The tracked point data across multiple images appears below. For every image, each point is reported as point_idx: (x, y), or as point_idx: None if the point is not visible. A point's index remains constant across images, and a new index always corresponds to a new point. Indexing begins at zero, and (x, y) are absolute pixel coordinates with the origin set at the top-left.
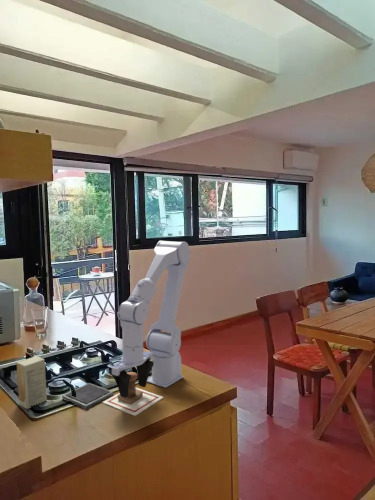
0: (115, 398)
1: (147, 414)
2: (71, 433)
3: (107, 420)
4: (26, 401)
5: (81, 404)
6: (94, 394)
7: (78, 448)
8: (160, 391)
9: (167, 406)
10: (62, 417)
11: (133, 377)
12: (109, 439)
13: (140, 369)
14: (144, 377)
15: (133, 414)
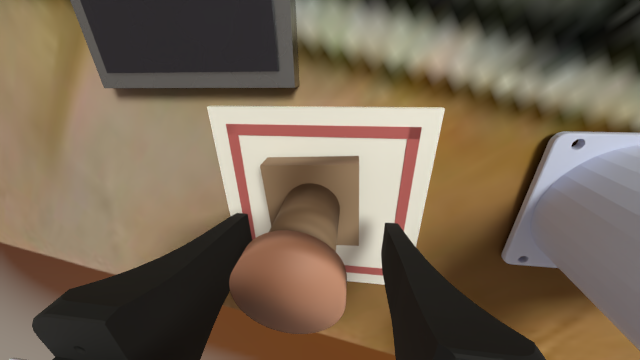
0: (272, 135)
1: None
2: (32, 174)
3: (160, 215)
4: None
5: (90, 48)
6: (185, 19)
7: (41, 238)
8: (458, 250)
9: (358, 313)
10: (8, 49)
11: (273, 328)
12: None
13: (408, 327)
14: (392, 303)
15: None
